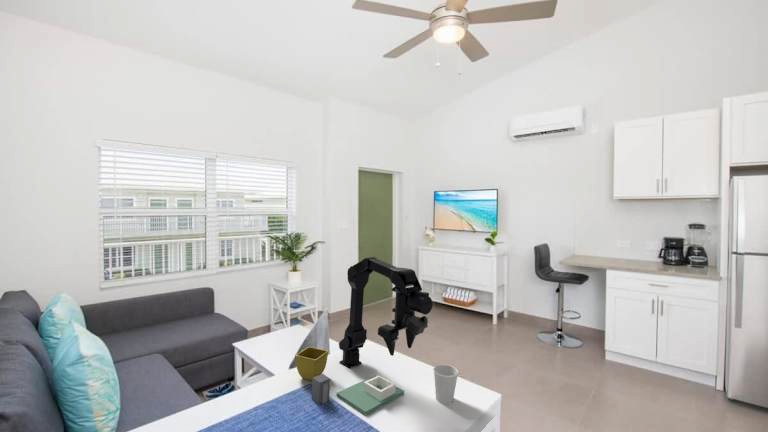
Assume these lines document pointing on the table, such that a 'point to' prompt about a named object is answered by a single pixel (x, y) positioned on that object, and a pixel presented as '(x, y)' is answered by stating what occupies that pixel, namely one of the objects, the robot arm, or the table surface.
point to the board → (370, 394)
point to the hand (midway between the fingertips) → (400, 351)
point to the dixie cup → (445, 383)
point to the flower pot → (311, 362)
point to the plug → (320, 388)
